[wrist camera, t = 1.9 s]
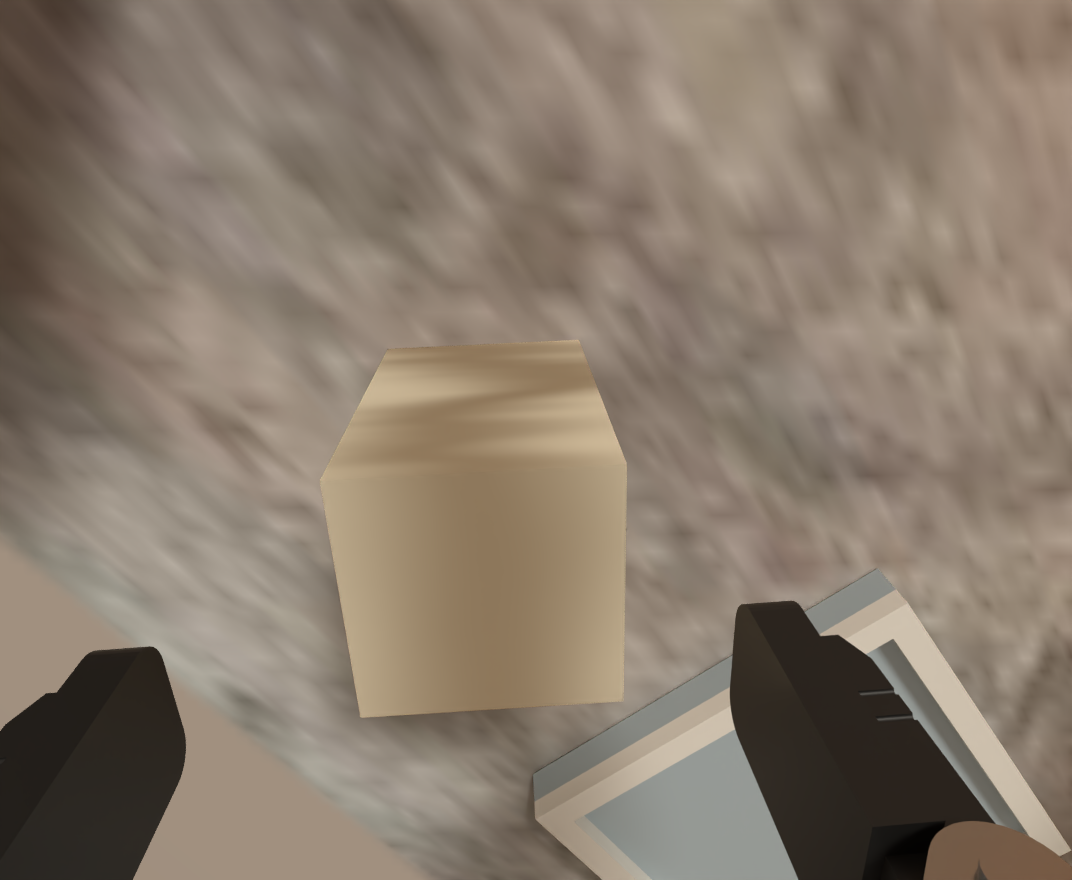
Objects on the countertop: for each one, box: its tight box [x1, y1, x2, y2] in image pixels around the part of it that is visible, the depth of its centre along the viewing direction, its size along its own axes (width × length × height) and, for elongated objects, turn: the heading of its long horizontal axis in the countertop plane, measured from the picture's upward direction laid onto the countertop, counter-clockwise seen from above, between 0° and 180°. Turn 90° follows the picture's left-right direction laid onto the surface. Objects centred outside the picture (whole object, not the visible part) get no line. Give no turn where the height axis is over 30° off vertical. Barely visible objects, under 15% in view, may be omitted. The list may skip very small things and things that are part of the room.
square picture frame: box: [533, 568, 1071, 880], centre depth 22 cm, size 12×12×2 cm
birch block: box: [320, 340, 627, 718], centre depth 15 cm, size 4×4×7 cm
